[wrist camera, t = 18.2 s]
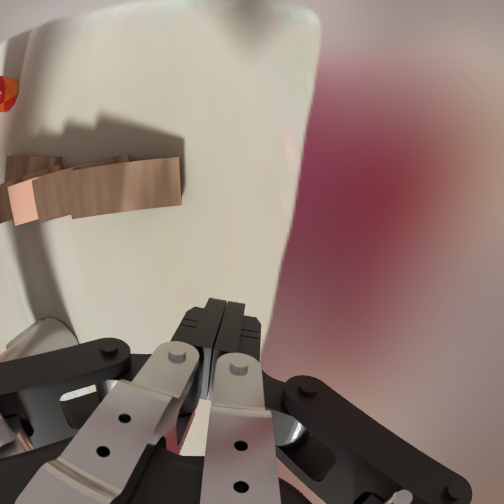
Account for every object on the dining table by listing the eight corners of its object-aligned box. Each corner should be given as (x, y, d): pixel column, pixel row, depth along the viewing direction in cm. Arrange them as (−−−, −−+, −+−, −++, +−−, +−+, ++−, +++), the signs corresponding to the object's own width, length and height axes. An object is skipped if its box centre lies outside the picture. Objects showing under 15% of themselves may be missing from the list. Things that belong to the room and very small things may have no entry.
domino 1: (60, 193, 32) (13, 186, 32) (63, 157, 30) (15, 155, 30) (50, 195, 30) (4, 188, 30) (54, 157, 28) (7, 156, 28)
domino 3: (99, 201, 31) (21, 222, 27) (93, 161, 29) (13, 185, 25) (96, 204, 29) (15, 225, 26) (90, 162, 27) (7, 187, 24)
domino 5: (179, 202, 30) (76, 215, 27) (177, 157, 29) (72, 171, 25) (181, 204, 29) (72, 219, 25) (179, 156, 27) (67, 171, 23)
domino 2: (68, 201, 31) (0, 221, 27) (62, 164, 29) (-6, 187, 25) (64, 203, 29) (-5, 225, 26) (58, 165, 27) (-13, 189, 24)
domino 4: (135, 197, 31) (44, 219, 27) (129, 155, 29) (37, 179, 25) (134, 199, 29) (39, 223, 25) (127, 154, 27) (31, 180, 23)
